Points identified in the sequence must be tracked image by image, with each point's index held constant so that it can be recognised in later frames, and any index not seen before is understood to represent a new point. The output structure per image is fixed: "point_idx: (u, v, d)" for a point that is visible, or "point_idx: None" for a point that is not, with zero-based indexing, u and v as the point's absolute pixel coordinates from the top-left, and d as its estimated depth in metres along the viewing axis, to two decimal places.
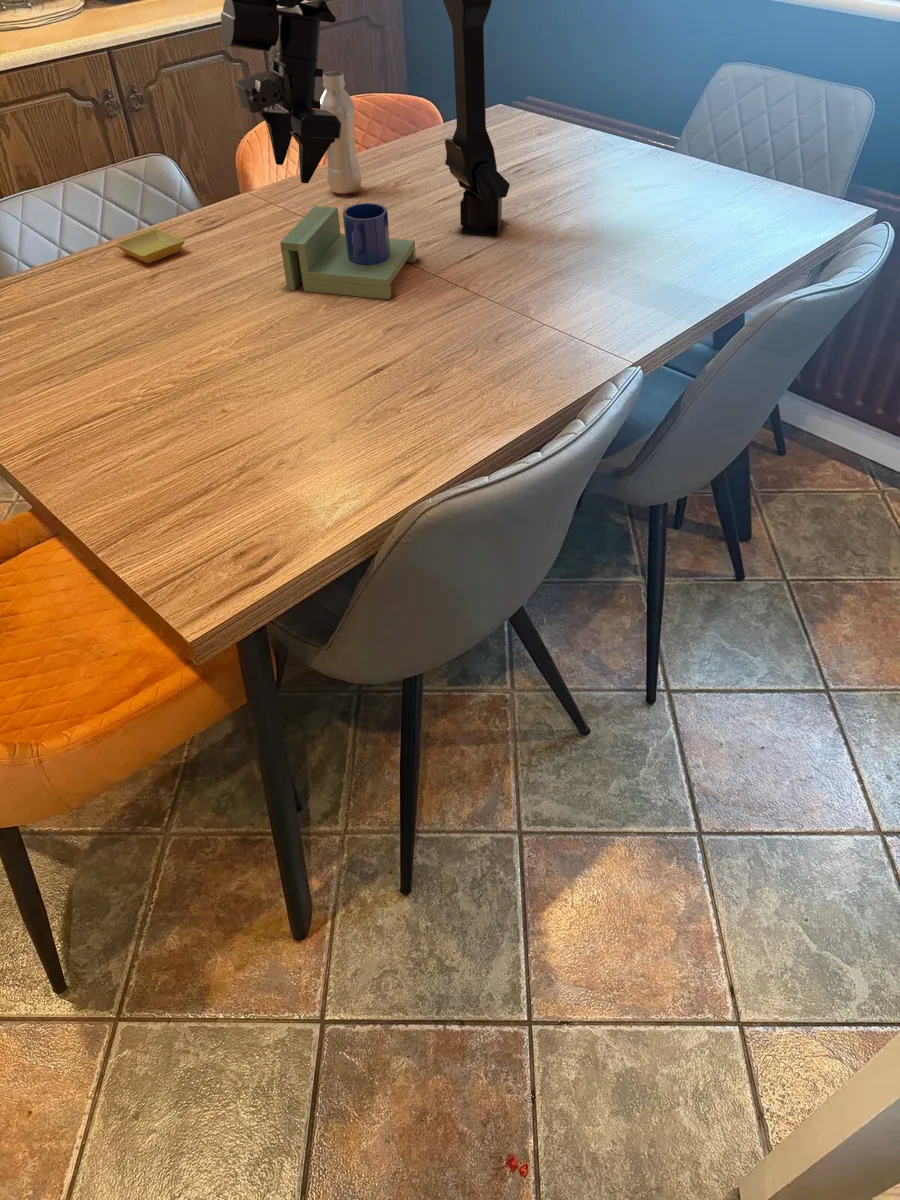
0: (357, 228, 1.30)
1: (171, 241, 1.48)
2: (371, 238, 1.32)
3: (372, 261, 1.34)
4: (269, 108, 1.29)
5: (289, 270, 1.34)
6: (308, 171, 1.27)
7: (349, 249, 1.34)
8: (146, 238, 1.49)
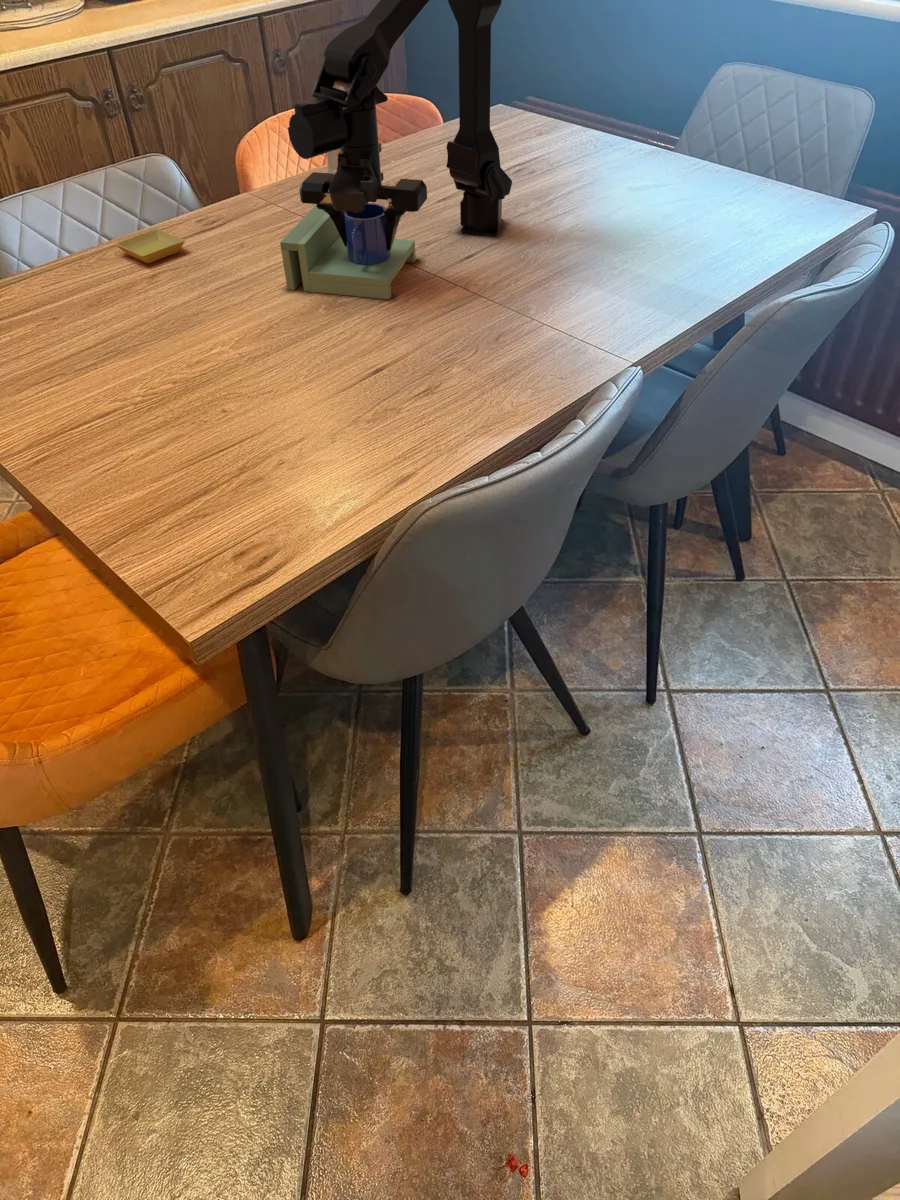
0: (357, 228, 1.30)
1: (171, 241, 1.48)
2: (371, 238, 1.32)
3: (372, 261, 1.34)
4: None
5: (289, 270, 1.34)
6: (392, 237, 1.34)
7: (349, 249, 1.34)
8: (146, 238, 1.49)
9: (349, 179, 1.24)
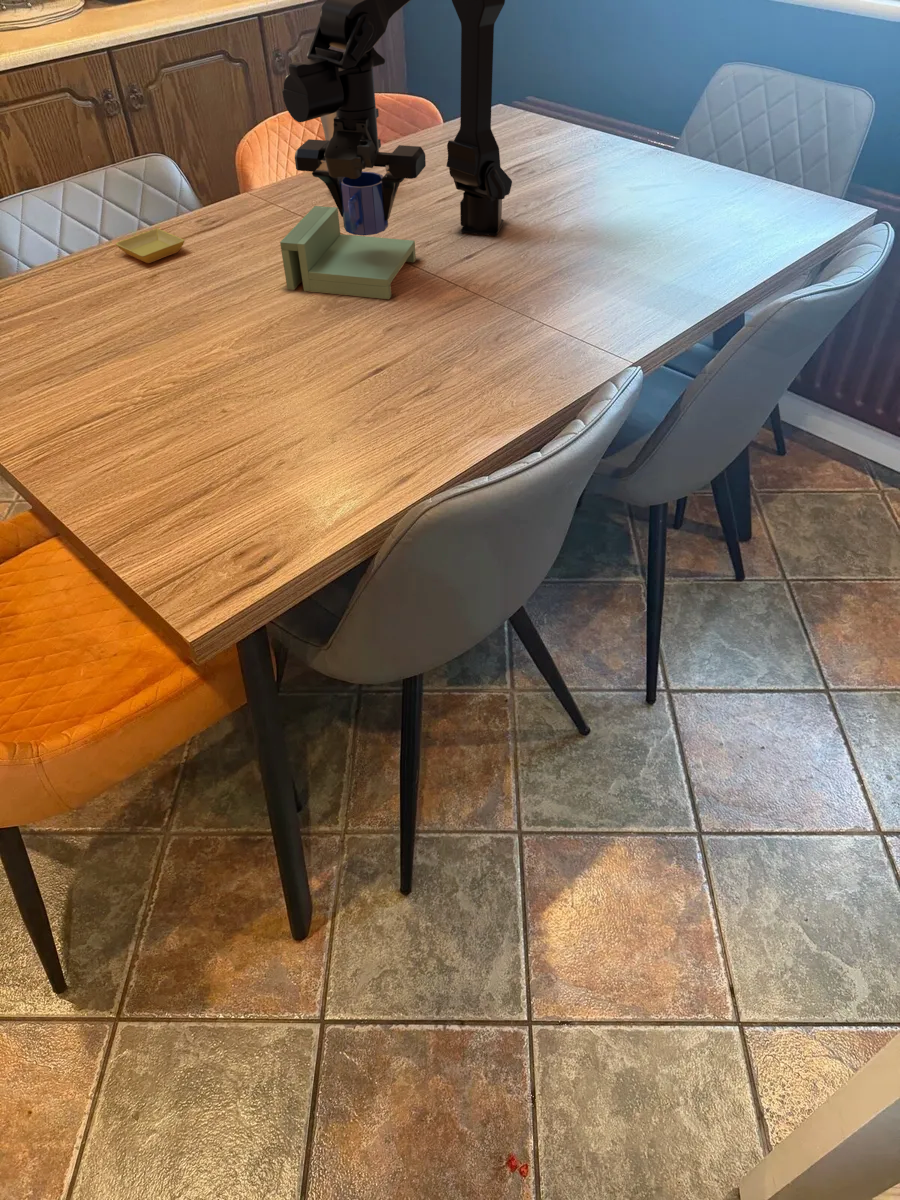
0: (354, 196, 1.27)
1: (171, 241, 1.48)
2: (368, 207, 1.29)
3: (369, 231, 1.31)
4: None
5: (289, 270, 1.34)
6: (390, 207, 1.31)
7: (346, 218, 1.31)
8: (146, 238, 1.49)
9: (345, 144, 1.20)
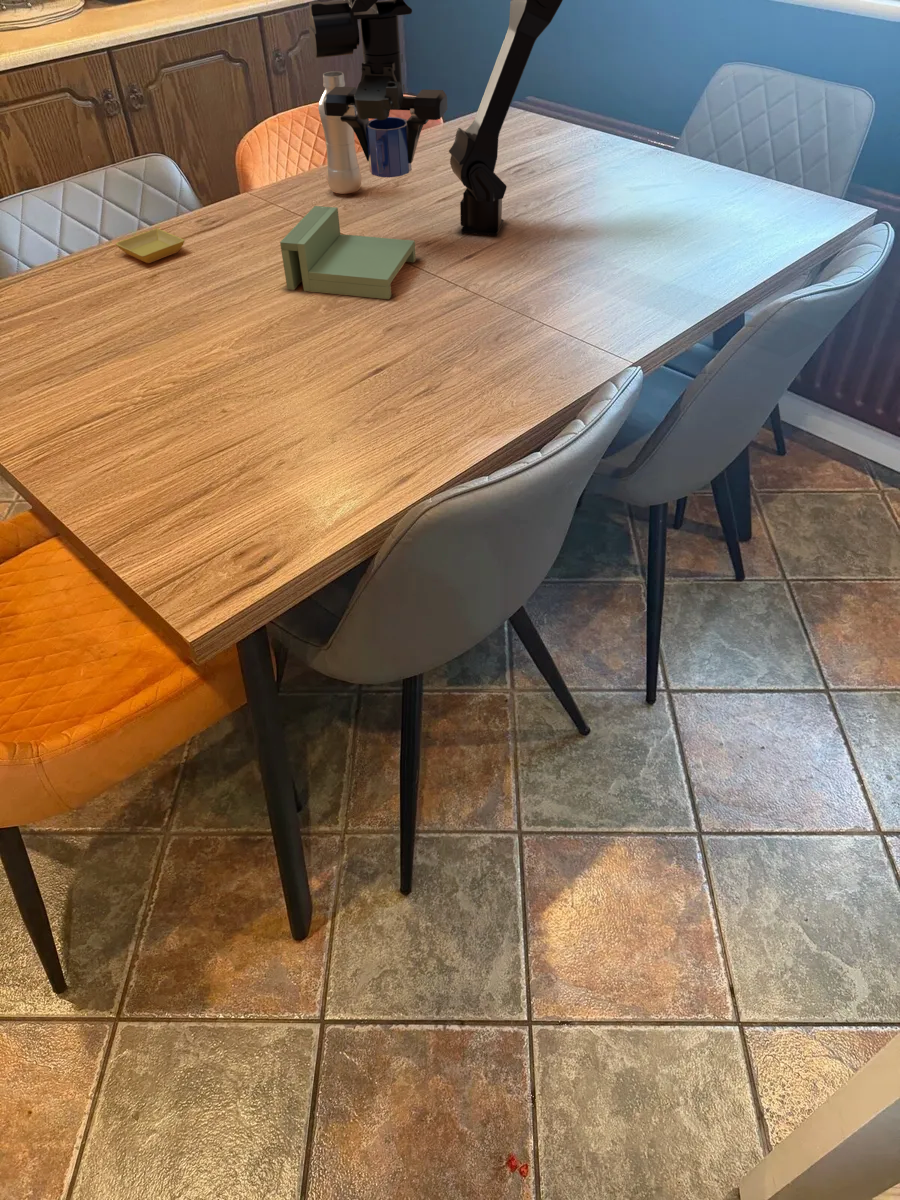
0: (380, 138, 1.34)
1: (171, 241, 1.48)
2: (394, 149, 1.36)
3: (394, 173, 1.39)
4: (356, 112, 1.35)
5: (289, 270, 1.34)
6: (413, 150, 1.38)
7: (372, 161, 1.38)
8: (146, 238, 1.49)
9: (374, 87, 1.28)
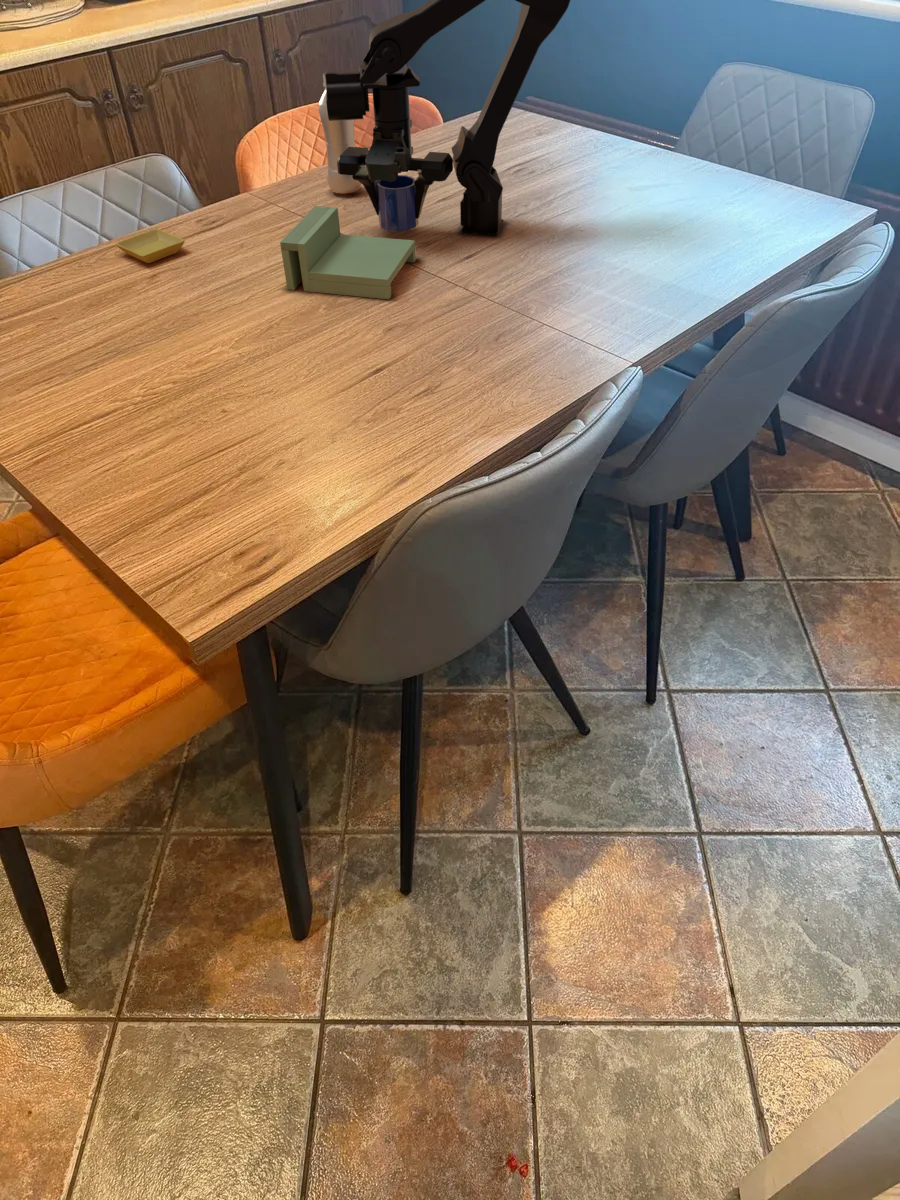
0: (389, 197, 1.43)
1: (171, 241, 1.48)
2: (402, 206, 1.45)
3: (402, 228, 1.48)
4: (367, 172, 1.44)
5: (289, 270, 1.34)
6: (420, 206, 1.48)
7: (381, 216, 1.48)
8: (146, 238, 1.49)
9: (384, 151, 1.37)
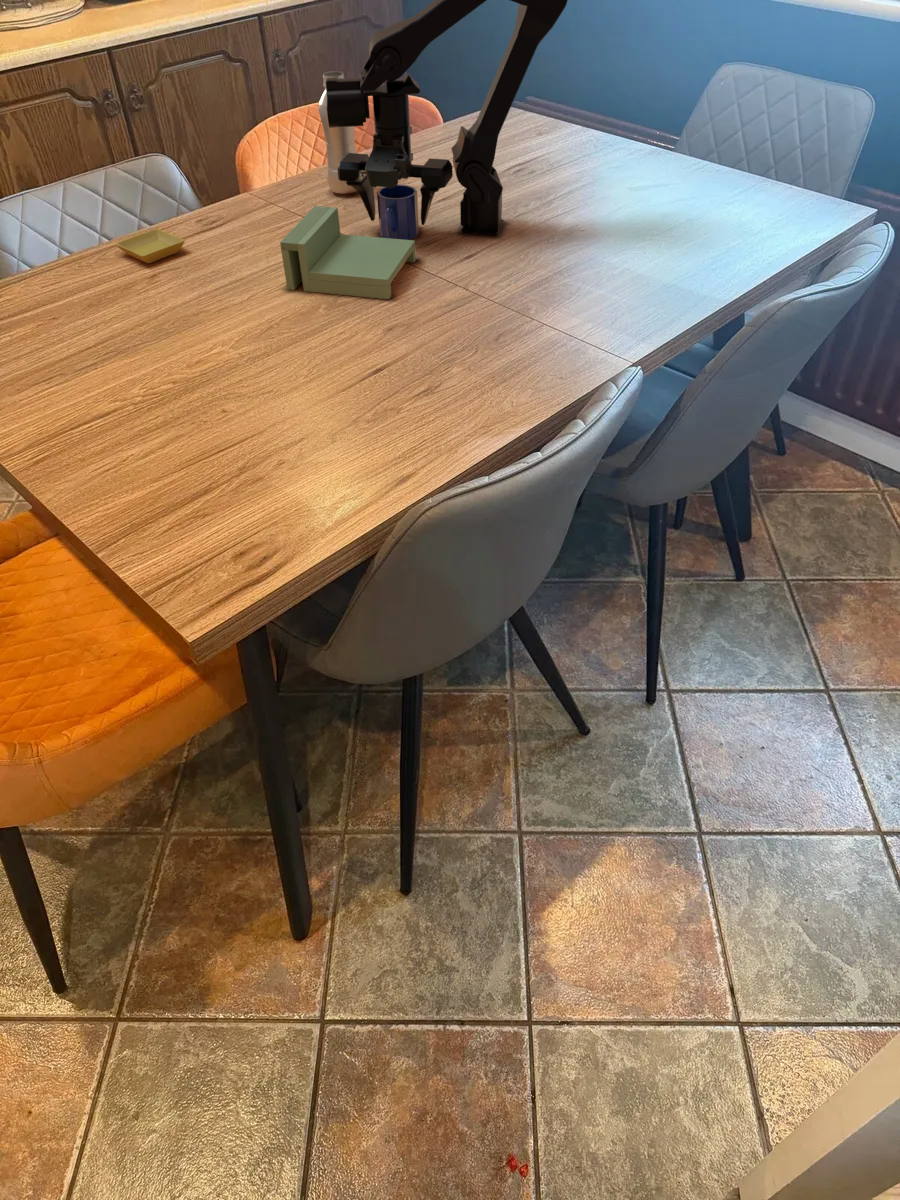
0: (390, 207, 1.44)
1: (171, 241, 1.48)
2: (402, 216, 1.46)
3: (403, 237, 1.49)
4: (361, 177, 1.45)
5: (289, 270, 1.34)
6: (426, 213, 1.48)
7: (382, 226, 1.49)
8: (146, 238, 1.49)
9: (384, 158, 1.38)
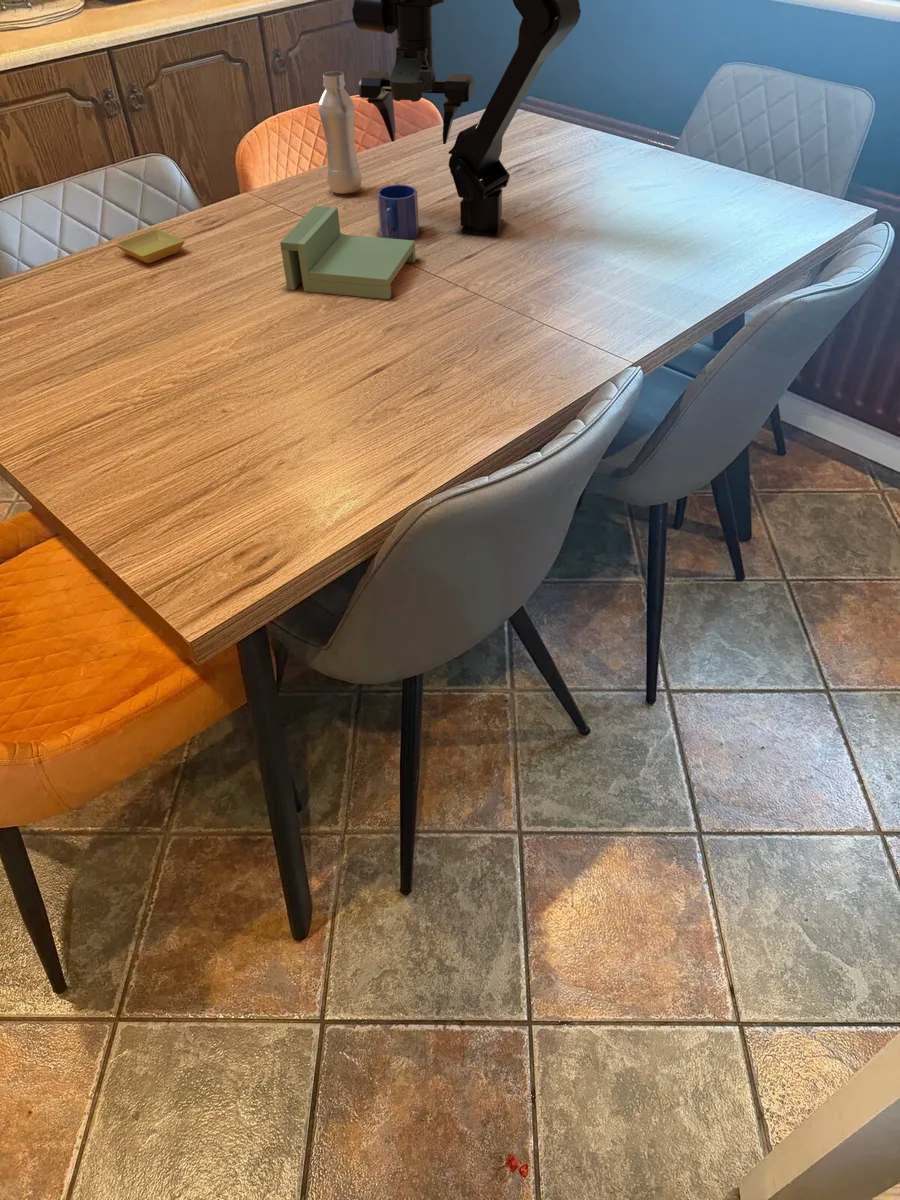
0: (390, 207, 1.44)
1: (171, 241, 1.48)
2: (402, 216, 1.46)
3: (403, 237, 1.49)
4: (383, 95, 1.44)
5: (289, 270, 1.34)
6: (448, 131, 1.47)
7: (382, 226, 1.49)
8: (146, 238, 1.49)
9: (408, 70, 1.36)
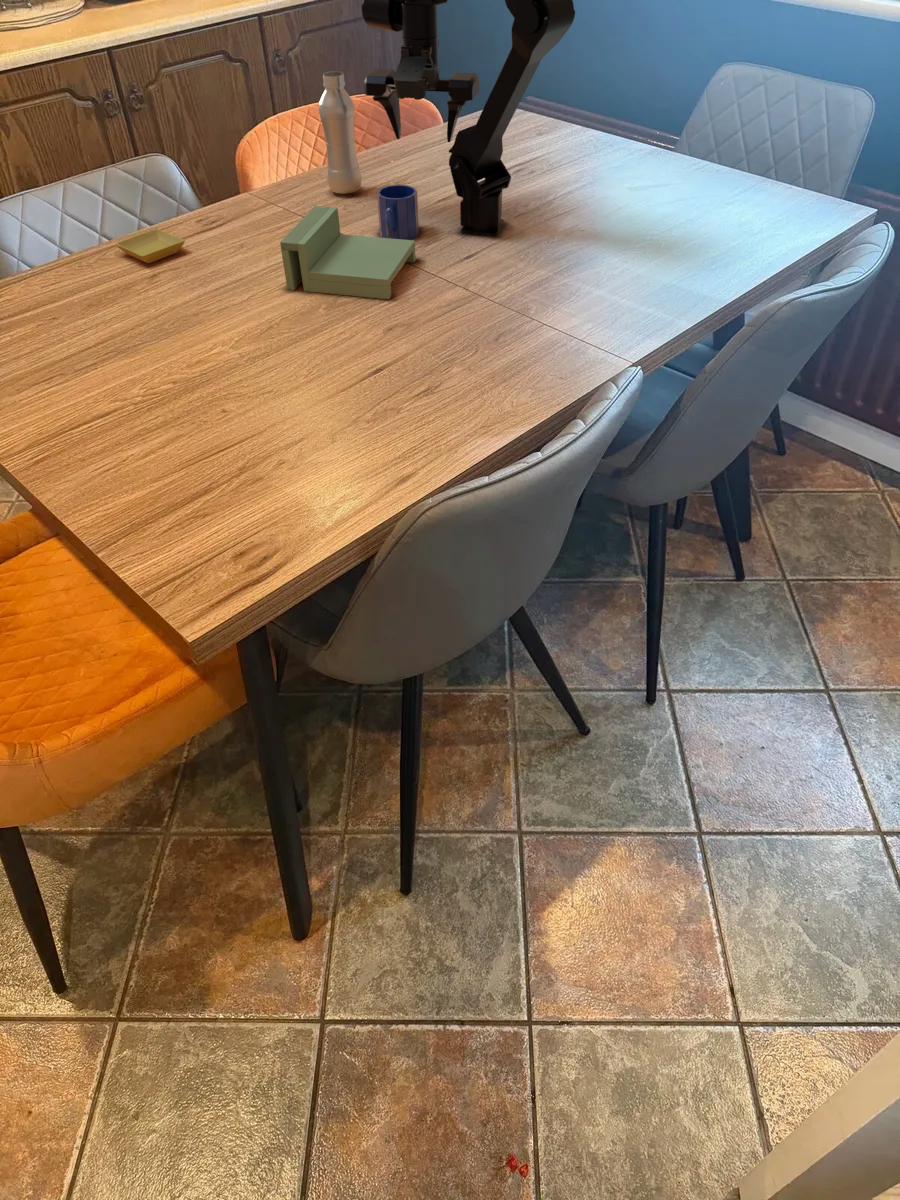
0: (390, 207, 1.44)
1: (171, 241, 1.48)
2: (402, 216, 1.46)
3: (403, 237, 1.49)
4: (388, 92, 1.45)
5: (289, 270, 1.34)
6: (452, 129, 1.48)
7: (382, 226, 1.49)
8: (146, 238, 1.49)
9: (412, 68, 1.38)
